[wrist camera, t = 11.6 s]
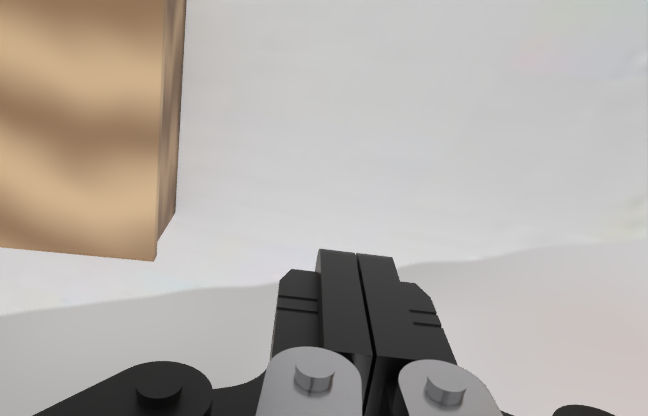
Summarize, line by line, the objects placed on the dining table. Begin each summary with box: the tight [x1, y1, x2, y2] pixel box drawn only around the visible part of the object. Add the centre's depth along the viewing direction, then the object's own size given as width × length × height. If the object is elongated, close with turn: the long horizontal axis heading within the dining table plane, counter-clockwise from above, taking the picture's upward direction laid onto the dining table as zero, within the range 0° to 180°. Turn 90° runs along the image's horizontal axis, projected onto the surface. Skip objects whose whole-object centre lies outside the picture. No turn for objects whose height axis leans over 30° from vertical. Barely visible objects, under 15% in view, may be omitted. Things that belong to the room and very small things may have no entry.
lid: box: [0, 0, 167, 262], centre depth 30 cm, size 17×12×1 cm
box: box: [157, 0, 186, 241], centre depth 34 cm, size 16×12×6 cm
